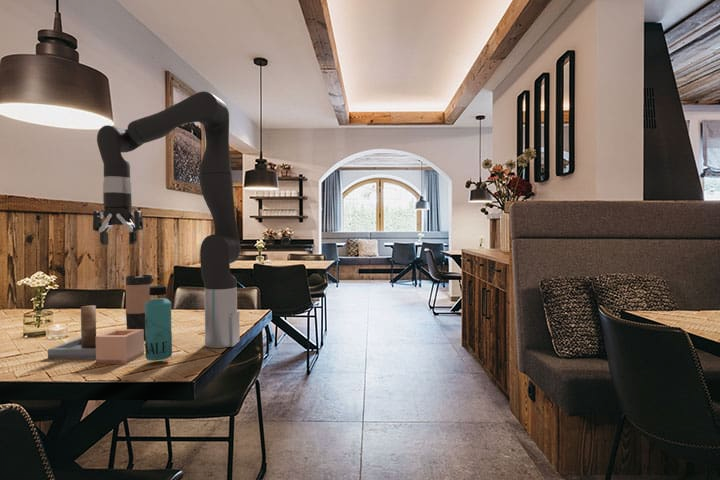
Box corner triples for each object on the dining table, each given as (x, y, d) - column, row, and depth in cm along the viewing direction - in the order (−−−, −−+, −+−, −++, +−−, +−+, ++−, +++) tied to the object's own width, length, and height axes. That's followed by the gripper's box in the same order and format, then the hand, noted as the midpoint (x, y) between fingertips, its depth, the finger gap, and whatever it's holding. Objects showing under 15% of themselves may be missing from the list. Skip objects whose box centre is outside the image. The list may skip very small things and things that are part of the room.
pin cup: (144, 354, 111) (143, 329, 111) (126, 363, 103) (126, 336, 103) (115, 354, 111) (115, 329, 111) (96, 363, 103) (95, 336, 103)
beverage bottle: (165, 357, 109) (164, 283, 108) (177, 362, 104) (176, 285, 104) (140, 363, 104) (139, 286, 103) (151, 368, 99) (150, 288, 99)
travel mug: (141, 342, 124) (140, 277, 124) (120, 340, 125) (119, 277, 125) (158, 335, 131) (157, 275, 131) (138, 334, 133) (137, 274, 133)
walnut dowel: (99, 346, 115) (98, 305, 115) (90, 350, 112) (90, 307, 112) (87, 346, 115) (86, 305, 115) (78, 350, 112) (77, 307, 112)
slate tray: (126, 346, 119) (126, 337, 119) (98, 358, 107) (98, 349, 107) (80, 346, 120) (80, 337, 120) (47, 358, 108) (47, 349, 108)
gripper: (146, 193, 128) (147, 244, 128) (102, 193, 128) (103, 244, 128) (133, 191, 121) (134, 244, 121) (86, 191, 121) (87, 245, 121)
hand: (118, 244), depth 125 cm, fingers open, 8 cm apart
